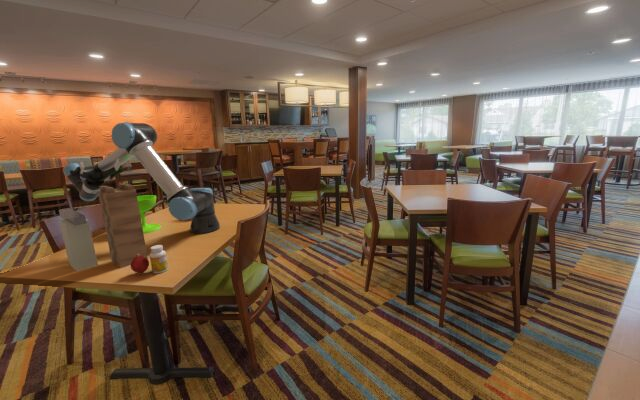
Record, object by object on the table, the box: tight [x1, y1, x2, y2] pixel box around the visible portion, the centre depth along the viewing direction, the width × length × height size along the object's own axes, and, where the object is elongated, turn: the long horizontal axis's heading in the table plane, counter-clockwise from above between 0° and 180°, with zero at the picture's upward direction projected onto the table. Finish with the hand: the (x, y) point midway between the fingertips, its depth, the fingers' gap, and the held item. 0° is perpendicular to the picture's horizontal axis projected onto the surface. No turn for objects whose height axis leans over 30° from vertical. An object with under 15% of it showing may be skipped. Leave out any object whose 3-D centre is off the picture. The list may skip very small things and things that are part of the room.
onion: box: [130, 254, 150, 275], centre depth 110 cm, size 6×6×8 cm
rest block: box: [58, 218, 99, 272], centre depth 118 cm, size 10×7×19 cm
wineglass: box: [137, 194, 162, 234], centre depth 162 cm, size 16×16×18 cm
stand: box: [98, 182, 149, 268], centre depth 119 cm, size 10×10×32 cm
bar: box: [58, 207, 87, 226], centre depth 116 cm, size 22×4×3 cm, turn 52°
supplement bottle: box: [149, 244, 169, 274], centre depth 111 cm, size 5×5×10 cm
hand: (101, 162), depth 130 cm, fingers open, 13 cm apart
